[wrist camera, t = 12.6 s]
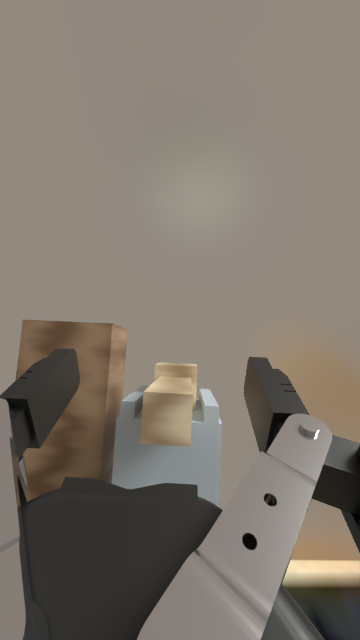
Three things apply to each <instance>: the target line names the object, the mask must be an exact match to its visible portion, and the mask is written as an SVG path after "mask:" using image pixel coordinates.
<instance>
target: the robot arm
mask: <svg viewBox="0 0 360 640" xmlns="http://www.w3.org/2000/svg"><path fill="white" fill-rule="evenodd" d="M79 383H80V374H79V368H78V361H77V354H76V351H75V349H72V348H56V349H55V350H54V351H53V352H52V353H51V354H50V355H49V356H48V357H47V358H43V359H41V360H39V361H38V362H36V363H34V364H33V365H32V366H30V367H29V368H28V369H27V370H26V373H25V372H24V373H23V374H22V375H21V376H20V378H19V379H17V380H16V381H15V382H14V383H13V384H12V385H11V386H10V387H9V388H8V389H7V390H6V391H4V393H2V394H1V395H0V640H324V638H323V637H322V636H321V635H320V633H319V632H318V631H317V629H316V628H315V627H314V625H313V624H312V623H311V621H310V620H309V619H308V617H307V616H306V615H305V613H304V612H303V611H302V610H301V608H300V607H299V606H298V604H297V603H296V602H295V600H294V599H293V598H292V596H291V595H290V594H289V592H288V591H287V590H286V589H285V587H284V586H283V585H282V582H283V579H284V576H285V573H286V571H287V568H288V565H289V562H290V559H291V556H292V553H293V551H294V548H295V545H296V542H297V539H298V536H299V533H300V530H301V528H302V525H303V522H304V519H305V516H306V513H307V511H308V508H309V505H310V502H311V499H315V500H317V501H320V502H323V503H326V504H328V505H331V506H333V507H336V508H339V509H341V511H342V514H343V516H344V518H345V521H346V522H347V525H348V527H349V530H350V532H351V534H352V536H353V539H354V541H355V543H356V545H357V548H358V550H359V552H360V443H357V442H354V441H350V440H347V439H343V438H340V437H337V436H334V435H332V433H331V431H330V429H329V428H328V427H327V426H326V425H325V424H324V423H323V422H322V421H320V420H319V419H317V418H315V417H313V416H310V415H309V413H308V412H307V410H306V408H305V406H304V405H303V403H302V401H301V399H300V397H299V396H298V394H297V393H296V391H295V389H294V387H293V386H292V384H291V382H290V380H289V378H288V377H287V376H286V375H285V374H284V373H283V372H281V371H280V370H279V369H272V367H271V365H270V363H269V361H268V359H267V358H263V357H249V360H248V364H247V371H246V377H245V385H244V397H245V401H246V404H247V408H248V412H249V415H250V419H251V423H252V426H253V430H254V433H255V437H256V440H257V444H258V447H259V451H260V454H259V455H258V457H257V458H256V460H255V461H254V463H253V464H252V466H251V468H250V469H249V471H248V472H247V474H246V476H245V477H244V478H243V480H242V482H241V483H240V485H239V486H238V488H237V489H236V491H235V492H234V494H233V496H232V497H231V499H230V500H229V502H228V503H227V505H226V507H225V508H224V510H222V509H220V508H219V507H218V506H216V505H215V504H213V503H212V502H210V501H208V500H206V499H204V498H201V497H198V485H193V484H177V483H161V484H156V485H151V486H146V487H140V488H135V489H125V488H122V487H120V486H117V485H114V484H111V483H108V482H105V481H103V480H100V479H94V478H77V477H65V479H64V481H63V483H62V485H61V487H60V489H56V490H53V491H50V492H47V493H44V494H42V495H40V496H38V497H36V498H34V499H32V500H31V497H30V491H29V485H28V479H27V472H26V466H25V460H24V456H23V453H24V452H25V450H26V449H27V448H36V449H40V448H41V446H42V444H43V443H44V441H45V440H46V438H47V437H48V435H49V434H50V432H51V430H52V429H53V427H54V426H55V424H56V423H57V421H58V420H59V418H60V416H61V415H62V413H63V412H64V410H65V409H66V407H67V406H68V404H69V402H70V401H71V399H72V398H73V396H74V395H75V393H76V392H77V390H78V387H79Z"/></svg>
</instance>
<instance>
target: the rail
mask: <svg viewBox="0 0 360 640" xmlns="http://www.w3.org/2000/svg"><path fill="white" fill-rule="evenodd" d="M196 386H197V365H196V364H182V363H163V362H160V363H158V364H155V377H154V383H152V384H151V385H150V386H149V387H148V388H147V389H146V390H145V391H144V392H143V407H142V423H141V439H140V444H155V445H171V446H188V447H191V429H192V410H196Z"/></svg>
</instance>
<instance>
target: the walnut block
mask: <svg viewBox="0 0 360 640" xmlns="http://www.w3.org/2000/svg"><path fill="white" fill-rule="evenodd" d="M126 342H127V329H125V328H123V327H120V326H117V325H114V324H106V323H82V322H62V321H40V320H23V323H22V332H21V340H20V349H19V358H18V365H17V373H16V380H17V379H19V378H20V376H21V375H22V374H23V373H24V372H25V373H26V370H27V369H28V368H29V367H30V366H32V365H33V364H34V363H36V362H38V361H39V360H41V359H43V358H47V357H48V356H49V355H50V354H51V353H52V352H53V351H54V350H55V349H56V348H72V349H75V351H76V354H77V361H78V368H79V374H80V383H79V387H78V390H77V392H76V393H75V395H74V396H73V398H72V399H71V401H70V402H69V404H68V406H67V407H66V409H65V410H64V412H63V413H62V415H61V416H60V418H59V420H58V421H57V423H56V424H55V426H54V427H53V429H52V430H51V432H50V434H49V435H48V437H47V438H46V440H45V441H44V443H43V444H42V446H41V448H40V449H36V448H27V449H26V450H25V452H24V453H23V456H24V460H25V466H26V472H27V479H28V485H29V491H30V497H31V500H32V499H34V498H36V497H38V496H40V495H42V494H44V493H47V492H50V491H53V490H56V489H60V487H61V485H62V483H63V481H64V479H65V477H77V478H94V479H100V480H103V481H105V482H108V483H111V484H112V472H113V459H114V445H115V432H116V418H117V417H118V416H119V415H120V411H121V401H122V398H123V383H124V370H125V356H126Z"/></svg>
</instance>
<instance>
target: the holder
mask: <svg viewBox="0 0 360 640" xmlns="http://www.w3.org/2000/svg"><path fill="white" fill-rule="evenodd" d="M148 387H149V386H141V387H139V388H138V389H137V390H135V391H134V392H133V393H131V394H130V395H129V396H127V397H126V398H125V399H123V400H122V401H121V411H120V415H119V416H118V417H117V418H116V432H115V445H114V459H113V472H112V484H114V485H117V486H120V487H122V488H125V489H135V488H140V487H146V486H151V485H156V484H161V483H177V484H193V485H198V497H201V498H204V499H206V500H208V501H210V502H212V503H213V504H215V505H216V506H218V507H219V508H220V484H221V483H220V482H221V448H222V422H221V421H220V418H219V406H218V404H217V402H216V400H215V398H214V396H213V395H212V393H211V391H210V389H200V396H199V400H196V410H192V429H191V447H188V446H171V445H155V444H140V439H141V423H142V407H143V392H144V391H145V390H146V389H147V388H148Z"/></svg>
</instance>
